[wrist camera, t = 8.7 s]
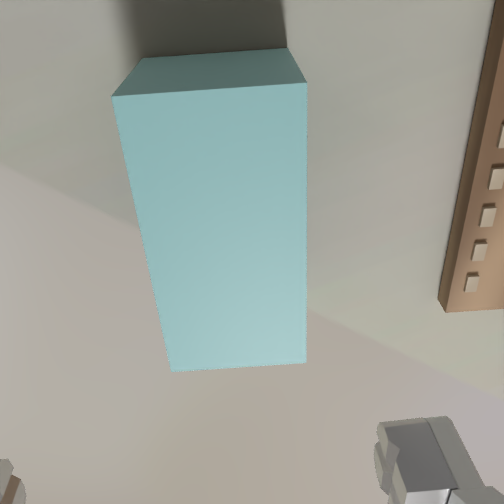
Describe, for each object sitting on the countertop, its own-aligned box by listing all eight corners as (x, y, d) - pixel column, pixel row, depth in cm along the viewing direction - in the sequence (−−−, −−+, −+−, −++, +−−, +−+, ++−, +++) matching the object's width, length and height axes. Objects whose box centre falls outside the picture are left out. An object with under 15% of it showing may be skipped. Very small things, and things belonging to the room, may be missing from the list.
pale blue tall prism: (183, 289, 26) (171, 372, 21) (142, 58, 19) (110, 96, 14) (292, 282, 26) (306, 362, 21) (287, 47, 19) (307, 82, 14)
